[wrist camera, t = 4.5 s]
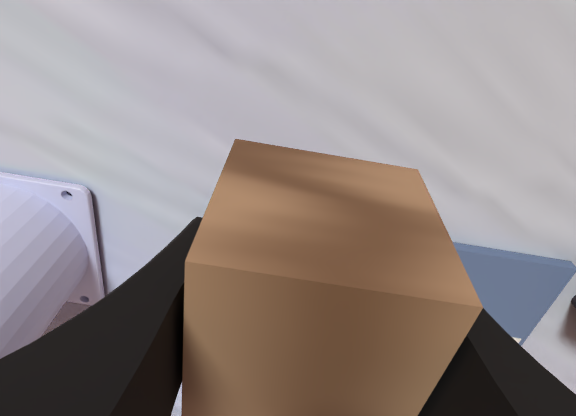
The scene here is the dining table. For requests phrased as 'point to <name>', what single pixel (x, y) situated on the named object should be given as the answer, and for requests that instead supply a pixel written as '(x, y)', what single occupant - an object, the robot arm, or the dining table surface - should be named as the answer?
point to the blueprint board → (514, 285)
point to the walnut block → (319, 290)
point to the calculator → (574, 301)
